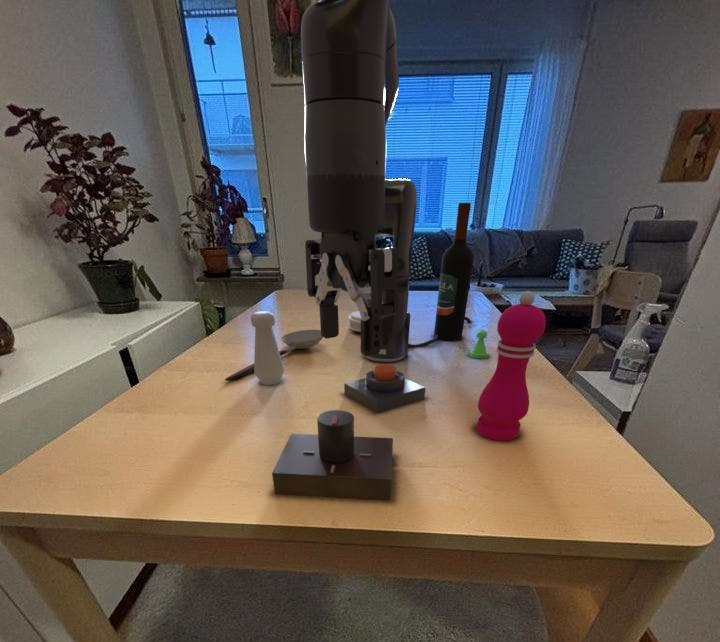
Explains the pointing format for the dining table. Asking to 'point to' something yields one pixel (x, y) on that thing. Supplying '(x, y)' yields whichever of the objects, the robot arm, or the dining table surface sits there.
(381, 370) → the button
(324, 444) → the dial
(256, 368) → the salt shaker
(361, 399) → the button block
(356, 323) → the lid
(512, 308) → the pepper mill
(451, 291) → the wine bottle
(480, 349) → the game piece
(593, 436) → the dining table surface
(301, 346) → the spoon
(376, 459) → the dial panel
